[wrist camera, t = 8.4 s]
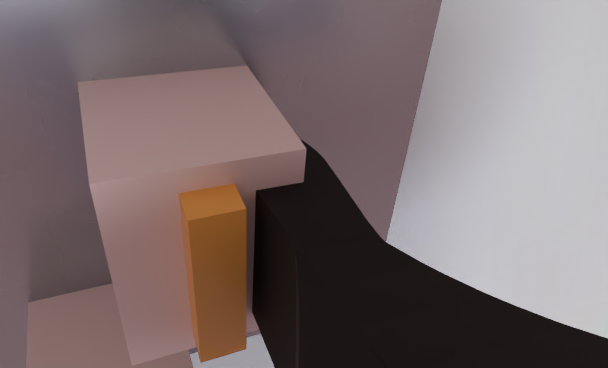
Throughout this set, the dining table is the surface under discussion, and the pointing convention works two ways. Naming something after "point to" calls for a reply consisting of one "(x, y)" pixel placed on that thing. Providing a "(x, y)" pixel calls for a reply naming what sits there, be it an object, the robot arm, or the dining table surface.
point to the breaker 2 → (84, 333)
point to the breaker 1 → (184, 201)
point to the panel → (179, 58)
